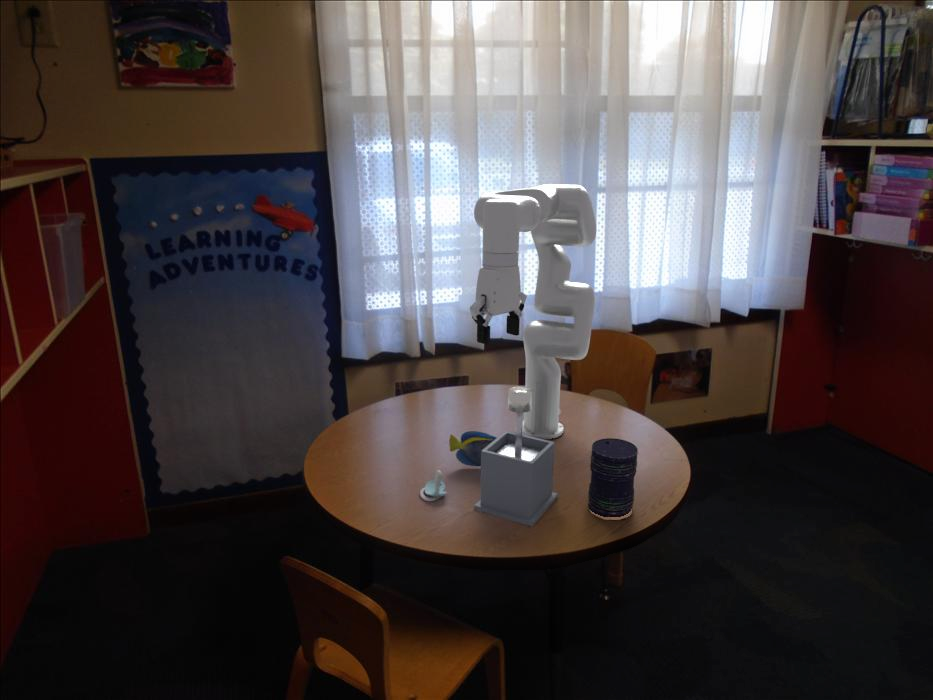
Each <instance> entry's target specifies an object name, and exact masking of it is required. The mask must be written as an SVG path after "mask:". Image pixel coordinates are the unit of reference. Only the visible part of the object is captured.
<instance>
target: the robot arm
mask: <svg viewBox="0 0 933 700" xmlns="http://www.w3.org/2000/svg"><path fill="white" fill-rule="evenodd" d="M593 208H594V207H593V204H592V200H591V197H590V195H589V192H588V191H587V189H585V187H583V186H582V185H579V184H557V183H556V184H554V183H547V184H546V183H544V184H541V185H537V186H534V187H528V188H518V189H511V190H501V191H492V192H488V193H484V194H482V195H481V196H480V197H479V198H478V199H477V201H476V203H475V206H474V210H473V217H474V221H475V223H476V224H477V226H478V227H479V228H481V229H482V263H481V266H480V267H479V269H478V275H477V280H476V281H477V282H476V288H475V289H476V290H475V301H474V302H473V304H471V305H470V307H469V311H470V314H471V318H472V319H473V321H474V324H475V325H476V342H477V343H479V344H483V345H487V346H488V345H491V326H490V322H491V320H492V318H493V317H495V316H500V315H503V314H508V315H506V328H505V329H506V331H505V332H506V334H508V335H511V336H512V335H513V336H517V337H518V336H520V325H521V324H520V319H521V317H522V314H523V313H522V312H523V310H524V308H525V303H526V300H527V298H528V296H527V294H526V293H524V292H522V291H521V273H520V266H519V256H520V255H519V254H520V253H519V250H520V249H519V247H520V233H528V232H530V233H531V237H532V241H533V243H534V246H535V250H536V252H537V257H538V272H537V279H536V286H535V291H534V309H535V311H536V312H537V313H538V314H541V315H543V316H549V317H550V316H551V317H559V318H565V319H572V320H573V323H572V322H563V321H562V322H561V321H555V320H548V319H546V320H544V319H534V320H532V321H530V322H529V323H527V324H526V326H524V330H523V335H522V336H523V337H522V340H523V346H524V347H523V348H524V353H525V354H524V355H525V382H524V383H525V384H524V387H526V388H529V389H531V390H532V404H531V410H530V411H529V412H525V413H523V434H522V435H526V436H530V437H535V438H539V439H543V440H552V438H553V439H555V438H558V437H560V436H562V435H563V434H564V429H565V428H564V425H563V424H562V423H560V422H559V421H560V420H559V417H560V416H559V415H560V414H561V413H562V409H561V408H560V397H561V396H560V395H561V380H562V379H561V378H562V376H561V375H562V374H561V373H562V372H561V368H560V367H561V366H560V365H559V364H558V361H557V360H556V358H558V359H563V360H573V361H580V360H583V359H584V358H585V357H587V354H588V351H589V348H590V343H591V342H590V341H591V335H592V325H593V320H594V313H595V311H594V310H595V305H596V304H595V303H596V302H595V299H596V297H595V296H596V295H595V291H594V289H593V287H592V286H591V285H590V284H588V283H584V282H576V281H575V282H574V281H570V276H571V268H572V263H571V260H570V258H569V256H568V254H567V253H566V251H565V249H563V247H562V246H565V247H579V248H580V247H581V248H585V247H589V246H590V245H592V244H593V243H594V241H595V239H596V237H597V222H596V221H597V220H596V218H595V213H594V212H595V211H594V209H593ZM484 317H485V318H484ZM562 433H563V434H562Z"/></svg>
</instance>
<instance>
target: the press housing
mask: <svg viewBox="0 0 933 700" xmlns="http://www.w3.org/2000/svg"><path fill="white" fill-rule="evenodd" d="M508 442H510V443H514V444H515V432H512V431H508V430H505V431H503V432H502V433H501V434H500V435H499V436H497V438H496V439H495V440H494V441H493V442H492V443H490V444H489V445H488V446H487V447H485V448H484V449H483V450H482V451H481V466H480V499H479V500H478V501H477V502H476V503H475V504H474V506H473V507H474V508H473V509H474V510H475V511H479V512H483V513H485V514H489V515H491V516H496V517H499V518H502V519H506V520H509V521H512V522H517V523H519V524H523V525H524V526H525V525H526V526H529V527H532V528H533V527H534V526H535V524H536V523H537V522H538V521H540V518H541V517H542V516H543V515H544V514H545V513H546V511H547V510H549V508H550V507H551V506H552V504H554V502H555V501H556V500H557V499H558V494H559V493H558V492H554V491H553V483H554V481H553V479H554V459H555V441H551V440H548V439H539V438H535V437H530V436H526V435H523V434H522V446H526V447H531V448H535V449H539V450H542V451H541V452H540V453H539V454H538V455H537V456H535V457H534V458H533V459H532V460H531V461H527V460H523V459H519V458H515V457H511V456H507V455H503V454H499V453H496V452H497V451H498V450H500V449H501V448H502V447H503V446H504V445H505V444H507V443H508ZM556 498H557V499H556ZM555 499H556V500H555ZM550 505H551V506H550ZM544 512H545V513H544ZM543 513H544V514H543Z"/></svg>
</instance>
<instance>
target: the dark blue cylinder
mask: <svg viewBox="0 0 933 700" xmlns="http://www.w3.org/2000/svg"><path fill="white" fill-rule="evenodd" d="M591 446H592V447H591V454H590V464H589V467H590V471H591V472H590V473H591V475H590V482H589V484H588V495H587V498H588V499H587V500H588V503H587V508H588V507H589V509H590V510H591V511H592V512H594V513H595V514H598V515H600V516H603V517H621V516H624V515H626V514H628V513H629V512H630V511H631V509H632V510H633V506H634V500H635V488H634V483H635V476H636V474H637V467H638V453H639V452H638V451H639V450H638V447H637V445H635V444H634V443H632V442H630V441H628V440H624V439H621V438H615V437H614V438H613V437H612V438H608V437H607V438H601V439H598V440H596V441H594V442H593V443H592V445H591Z"/></svg>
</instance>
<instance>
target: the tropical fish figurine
mask: <svg viewBox="0 0 933 700" xmlns="http://www.w3.org/2000/svg"><path fill="white" fill-rule="evenodd" d="M496 438H498V436H494V435H491V434H489V433H487V432H483V431H477V430H468V431H464V432H463V433H461V436H460V440H459V439H458V438H457V437H456V436H454V435H453V434H450V435H449V441H448V442H449V443H448V445H449V451H450V452H455V451H456V450H457V451H456V453H455V457H456V460H458V462H459V463H461V464H462V465H465V466H470V467H481V451H482V450H483V449H484V448H485V447H487V446H488V445H489V444H490V443H492V442H493V441H494V440H495V439H496Z"/></svg>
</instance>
